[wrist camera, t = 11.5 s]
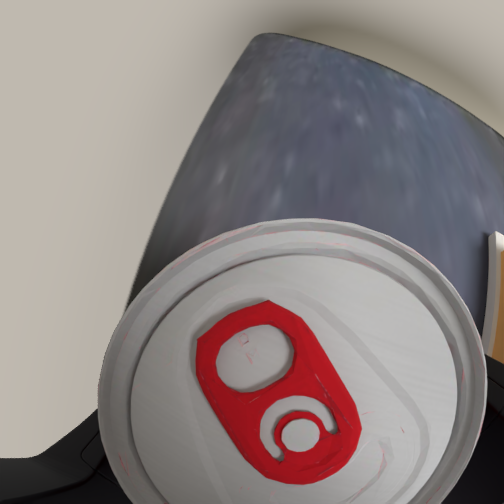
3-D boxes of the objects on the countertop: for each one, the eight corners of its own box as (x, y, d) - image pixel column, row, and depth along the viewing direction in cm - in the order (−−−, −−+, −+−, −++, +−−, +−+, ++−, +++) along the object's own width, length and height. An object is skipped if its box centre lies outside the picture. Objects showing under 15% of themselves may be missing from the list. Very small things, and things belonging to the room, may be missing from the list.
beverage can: (266, 441, 12) (208, 607, 1) (211, 347, 14) (28, 315, 3) (366, 384, 13) (539, 430, 1) (310, 291, 15) (361, 123, 4)
